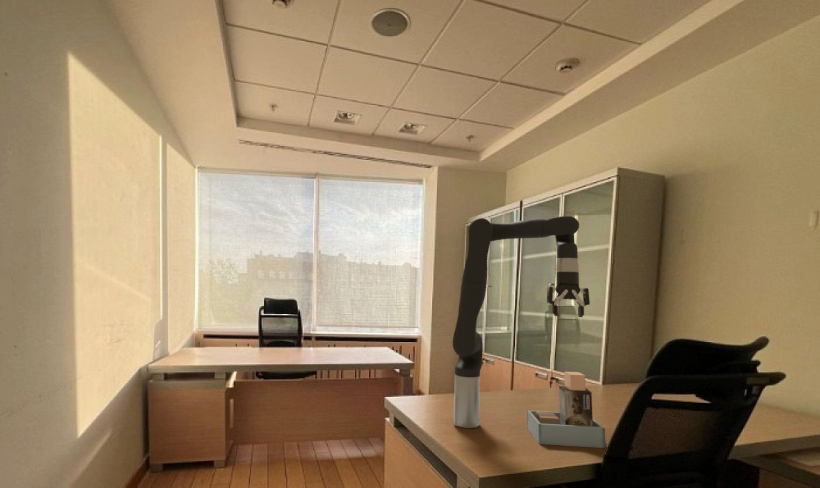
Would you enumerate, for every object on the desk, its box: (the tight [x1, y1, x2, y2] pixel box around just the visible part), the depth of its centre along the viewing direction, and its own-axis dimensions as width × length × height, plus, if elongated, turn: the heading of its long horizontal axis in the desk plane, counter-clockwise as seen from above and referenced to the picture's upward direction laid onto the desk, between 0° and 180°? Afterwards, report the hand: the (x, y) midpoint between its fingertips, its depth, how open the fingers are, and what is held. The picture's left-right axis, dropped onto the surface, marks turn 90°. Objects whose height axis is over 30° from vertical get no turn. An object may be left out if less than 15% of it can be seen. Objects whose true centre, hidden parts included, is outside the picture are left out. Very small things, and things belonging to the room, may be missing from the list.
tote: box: [526, 410, 606, 449], centre depth 126 cm, size 21×15×6 cm
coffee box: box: [558, 385, 594, 427], centre depth 127 cm, size 9×6×16 cm
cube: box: [563, 371, 586, 391], centre depth 128 cm, size 5×5×5 cm
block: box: [536, 412, 559, 425], centre depth 127 cm, size 6×6×6 cm
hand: (568, 316), depth 134 cm, fingers open, 8 cm apart
